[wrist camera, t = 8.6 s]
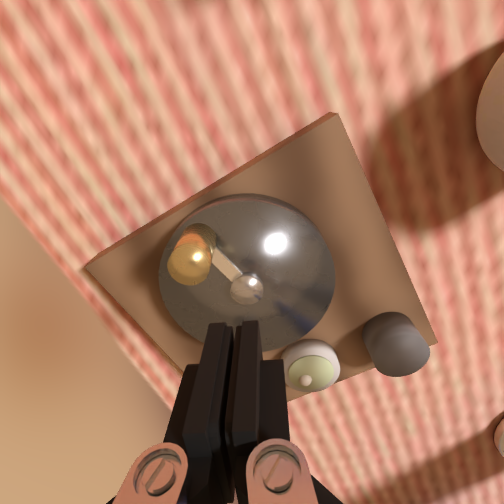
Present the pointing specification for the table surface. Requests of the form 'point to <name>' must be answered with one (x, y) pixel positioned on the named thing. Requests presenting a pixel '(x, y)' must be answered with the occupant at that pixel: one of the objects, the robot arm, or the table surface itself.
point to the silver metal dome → (247, 269)
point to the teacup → (492, 115)
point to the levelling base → (339, 244)
